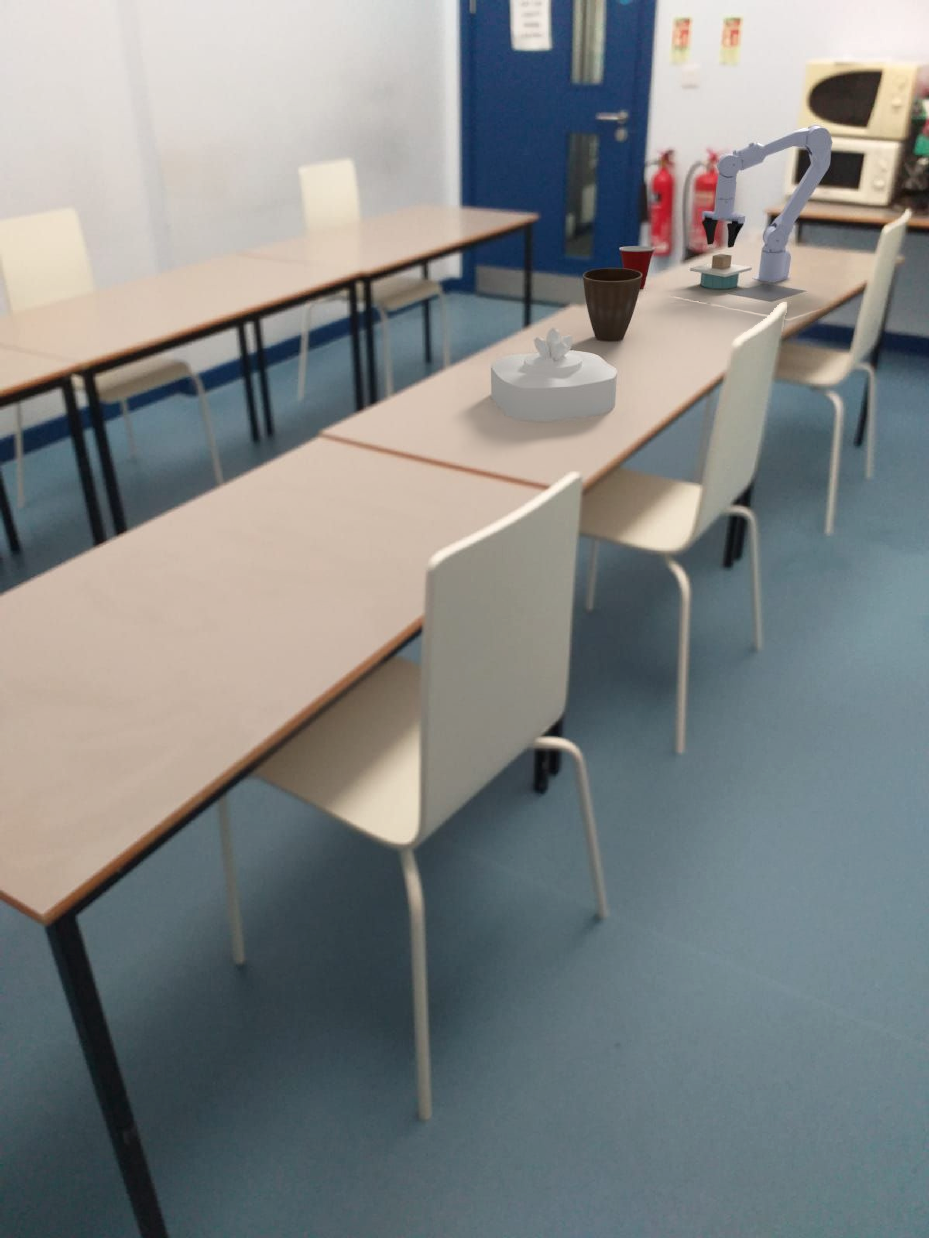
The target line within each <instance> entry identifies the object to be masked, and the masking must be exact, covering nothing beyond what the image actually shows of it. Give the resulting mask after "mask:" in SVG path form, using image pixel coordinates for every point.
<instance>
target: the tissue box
mask: <svg viewBox="0 0 929 1238" xmlns="http://www.w3.org/2000/svg"><path fill="white" fill-rule="evenodd" d="M533 342H534V347H535V349H536V350H537V352H535V353H519V354H510V355H506V356H503V357H501V358H498V359H496V360H494V361H493V362H491V364H490V387H491V389H490V392H491V393H490V394H491V396H490V397H491V400H492V402H493V403H494V404H495V406H496V407H498V409H499V411H501V413H503V414H504V415H505V416H507V417H509V418H511V419H514V420H517V421H523V422H531V423H532V422H535V423H536V422H537V423H545V422H547V423H548V422H557V421H565V420H566V421H567V420H574V419H582V418H590V417H596V416H601V415H604V414H607V413H609V412H611V411H613V410H614V409H615V407H616V399H617V398H616V397H617V379H618V378H617V377H618V370H617V368H615V367H614V366H613V365H611V364H609V363H608V362H607V361H605V359H603V358H602V357H601V356H600V355H598V354H596V353H593V352H587V351H580V350H573V349H572V350H571V348H572V346H573V344H574V341H573V335H564V336H562V337H561V334H560V331H559V330H558V329H556V328H555V327H552V328H551V329H549V330H548V331H547V335H546V338H545V339H544V338H541V337H538V336H537V337H535V338H534V339H533Z"/></svg>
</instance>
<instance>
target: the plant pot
mask: <svg viewBox="0 0 929 1238" xmlns="http://www.w3.org/2000/svg"><path fill="white" fill-rule="evenodd" d="M582 280H583V289H584V297H585V303H586V308H587V313H588V317H589V321H590V325H591V329H592V332H593V334H594V337H595V339H597V340H599V341H601V342H602V341H603V342H618V341H621V340H623V339H624V338H625V336H626V333H627V331H628V328H629V326H630V323H631V320H632V317H633V315H634V312H635V309H636V307H637V301H638V298H639V293H640V290H641V289H640V285H641V280H642V273H641V272H639V271H636V270H632V269H624V268H623V267H622V268H621V267H620V268H619V267H605V268H596V269H590V270H587V271H585V272H584V273H583V274H582Z"/></svg>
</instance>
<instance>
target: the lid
mask: <svg viewBox="0 0 929 1238" xmlns="http://www.w3.org/2000/svg"><path fill="white" fill-rule="evenodd" d="M732 256H733V255H731V254H724V253H718V254H713V255H712V259H711V262H710V263H706V264H701V265H697V266H694V267H690V269H689V271H690V272H694V273H699V274H701V273H705V274H711V275H716V276H722V277H727V276H731V275H735V274H738V273H739V274H742V273H745V272H748V271H752V268H753V267H752V266H748V265H747V266H746V265H739V264H734V263H732Z"/></svg>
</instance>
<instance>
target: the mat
mask: <svg viewBox="0 0 929 1238" xmlns="http://www.w3.org/2000/svg"><path fill="white" fill-rule="evenodd" d="M804 292H806V290H804V289H803V290H802V289H799V288H798V289H797V288H794V287H785V286H781V285H774V284H769V283H764V282H763V283H760V284H757V285H754V286H750V287H746V288H743V289H740V290H736V291H732V292H728V295H732V296H737V297H738V296H739V297H743V298H748V299H754V300H759V301H763V302H764V301H765V302H770V303H772V302H776V301H778V300H782V299H785V298H788V297H792V296H795V295H798V294H801V293H804Z"/></svg>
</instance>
